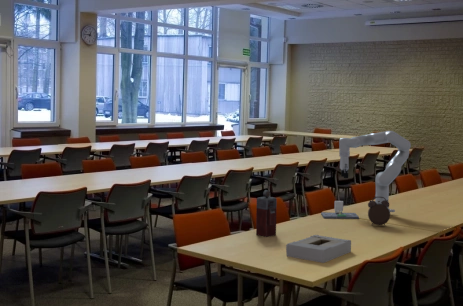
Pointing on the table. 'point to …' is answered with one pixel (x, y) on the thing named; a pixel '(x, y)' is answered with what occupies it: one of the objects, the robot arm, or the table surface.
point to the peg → (338, 207)
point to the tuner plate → (340, 215)
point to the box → (318, 248)
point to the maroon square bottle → (266, 215)
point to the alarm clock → (378, 212)
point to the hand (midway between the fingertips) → (344, 177)
